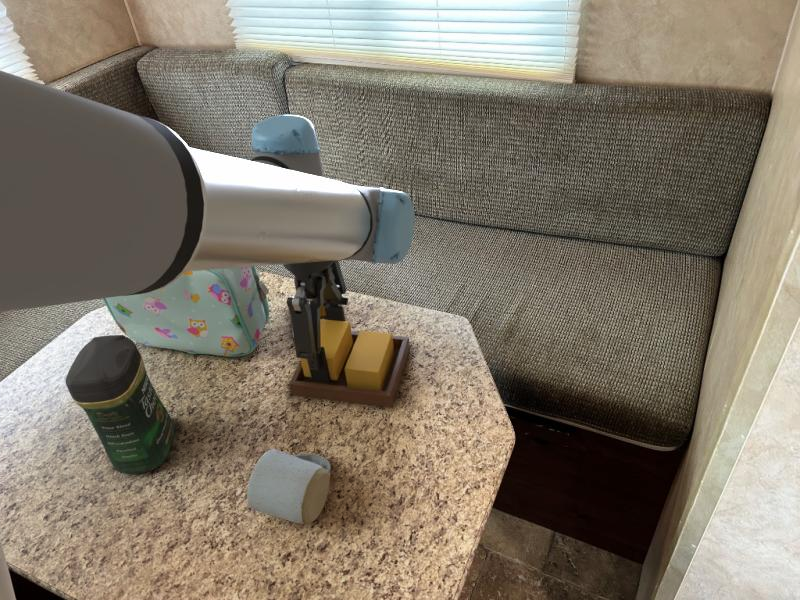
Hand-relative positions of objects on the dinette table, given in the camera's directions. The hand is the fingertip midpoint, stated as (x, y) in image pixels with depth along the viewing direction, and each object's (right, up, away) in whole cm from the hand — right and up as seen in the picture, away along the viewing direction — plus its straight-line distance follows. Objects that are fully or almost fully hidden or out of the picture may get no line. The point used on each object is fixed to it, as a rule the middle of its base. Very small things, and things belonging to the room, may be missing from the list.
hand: (330, 358), depth 94 cm
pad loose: (0, 0, 0) cm, 0 cm away
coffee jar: (-25, -12, -7) cm, 29 cm away
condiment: (-4, +5, +11) cm, 13 cm away
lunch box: (-23, +3, +10) cm, 25 cm away
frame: (+3, -2, +1) cm, 4 cm away
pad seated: (+6, -2, 0) cm, 7 cm away
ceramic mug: (-2, -16, -15) cm, 23 cm away
